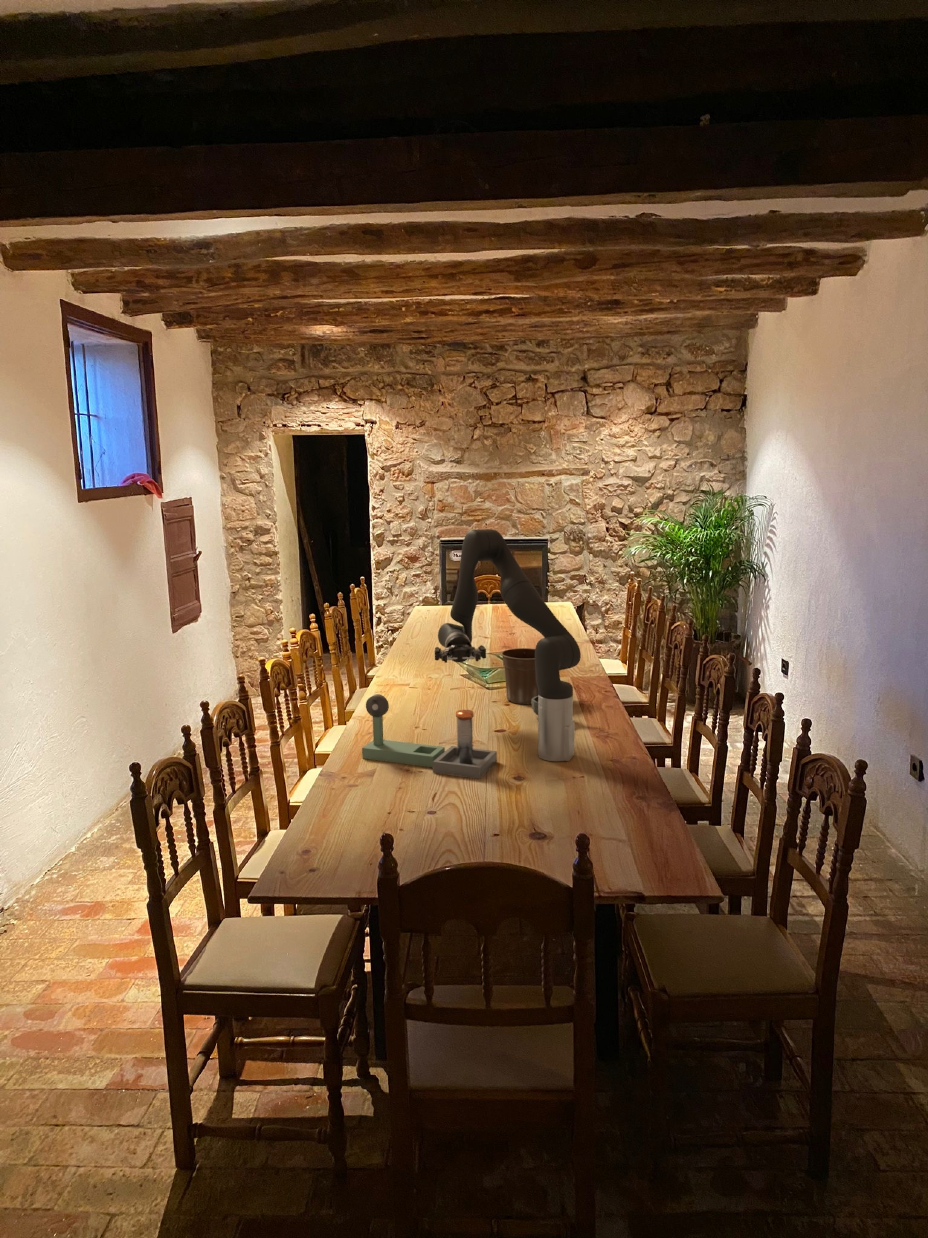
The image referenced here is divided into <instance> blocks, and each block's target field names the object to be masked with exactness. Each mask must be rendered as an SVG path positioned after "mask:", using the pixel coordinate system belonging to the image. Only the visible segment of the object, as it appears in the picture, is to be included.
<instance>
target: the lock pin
mask: <svg viewBox="0 0 928 1238" xmlns="http://www.w3.org/2000/svg"><path fill="white" fill-rule="evenodd" d="M455 717H456V724H457V725H456V729H457V730H456V733H457V735H456V737H457V742H456V743H457V744H456V746H457V751H458V763H461V764H469V765H472V764H473V748H474V744H473V743H474V742H473V740H474V739H473V738H474V735H473V729H474V727H473V725H474V723H473V717H474V711H473V710H470V709H460V710H457V711H455Z"/></svg>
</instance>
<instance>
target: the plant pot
mask: <svg viewBox="0 0 928 1238" xmlns="http://www.w3.org/2000/svg"><path fill="white" fill-rule="evenodd" d="M500 655H501V656H502V663H503V666H504V667H503V668H504V675H505V678H504V679H505V689H506V690H505V691H506V699H507V701H508V702H511V703H513V704H518V705H532V704H531V699H532V698H534V697H536V696H538V695H539V694H538V687H537V683H536V671H535V648H530V647H528V648H527V647H526V648H525V647H519V648H517V647H516V648H509V649H506V650H505V649H504V650H503V651H501V653H500Z"/></svg>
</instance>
